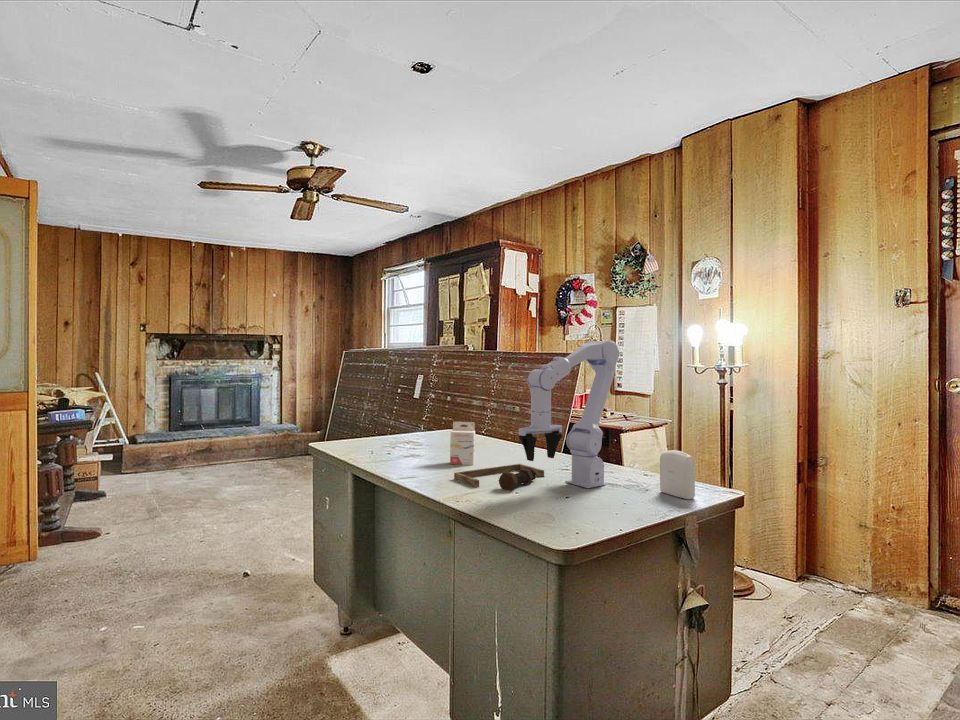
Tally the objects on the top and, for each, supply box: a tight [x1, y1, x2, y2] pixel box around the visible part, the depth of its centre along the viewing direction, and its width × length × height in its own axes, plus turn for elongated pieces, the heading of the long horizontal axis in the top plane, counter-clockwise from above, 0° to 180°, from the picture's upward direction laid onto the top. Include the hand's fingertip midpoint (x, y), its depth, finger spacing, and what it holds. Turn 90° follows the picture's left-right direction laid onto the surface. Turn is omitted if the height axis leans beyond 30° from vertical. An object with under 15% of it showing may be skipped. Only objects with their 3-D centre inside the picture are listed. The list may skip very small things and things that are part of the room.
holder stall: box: [453, 463, 545, 488], centre depth 168 cm, size 12×26×2 cm, turn 124°
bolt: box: [498, 469, 537, 492], centre depth 158 cm, size 6×5×15 cm
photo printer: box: [659, 449, 696, 500], centre depth 148 cm, size 10×4×12 cm, turn 26°
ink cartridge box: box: [449, 421, 476, 466], centre depth 190 cm, size 9×5×15 cm, turn 84°
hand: (540, 459), depth 151 cm, fingers open, 7 cm apart
